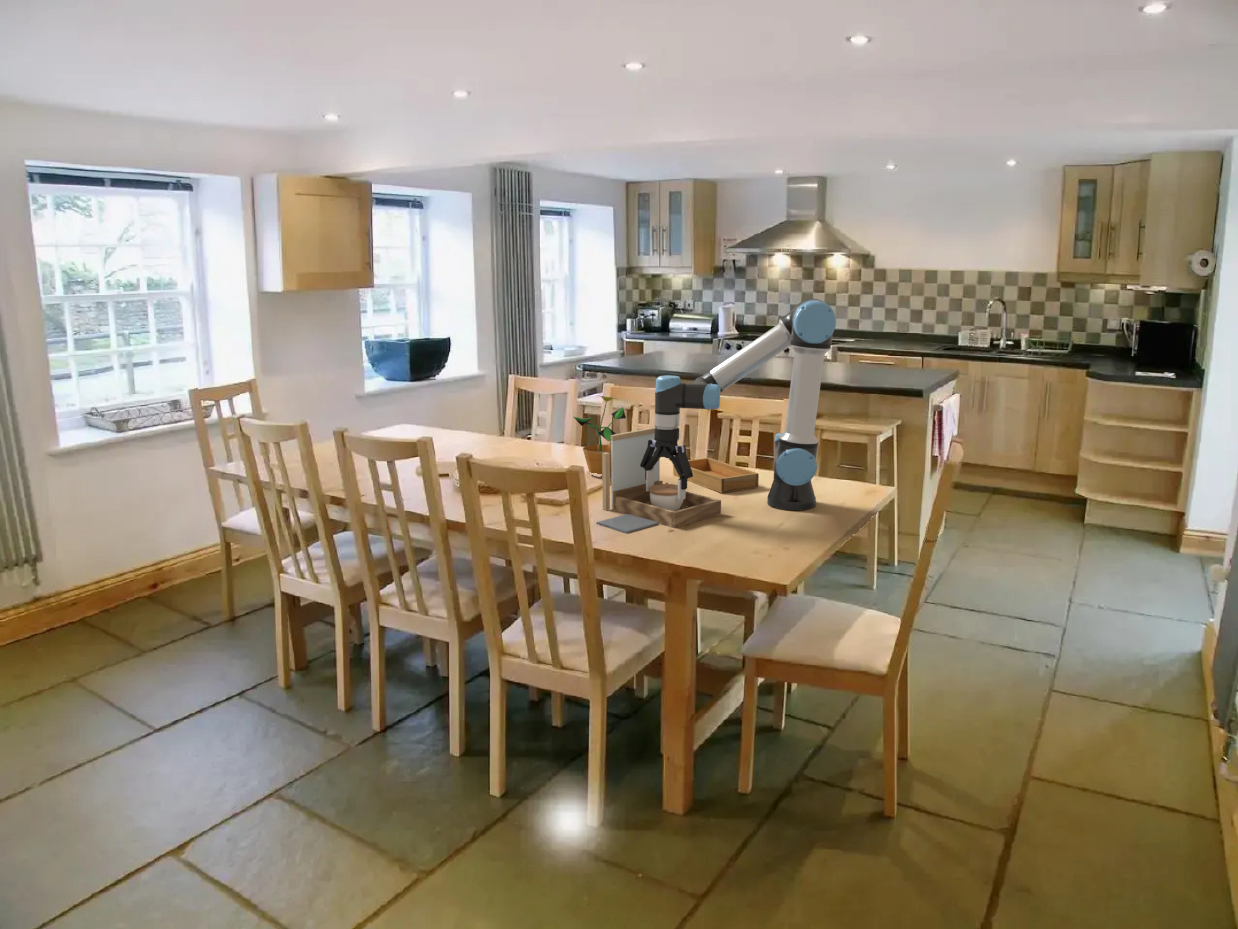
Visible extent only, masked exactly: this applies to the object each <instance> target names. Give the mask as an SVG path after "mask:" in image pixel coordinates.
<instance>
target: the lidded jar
mask: <svg viewBox="0 0 1238 929" xmlns="http://www.w3.org/2000/svg"><path fill="white" fill-rule="evenodd" d="M649 492H650V502H649V503H650V505H653V506H657V507H660V508H664V509H668V510H671V511H678V510H681V508H682V504H683V500H677V499H678V484H674V483H669V482H664V483H662V484H659V485H654V486H651V487H650V488H649Z"/></svg>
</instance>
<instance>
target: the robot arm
mask: <svg viewBox="0 0 1238 929" xmlns="http://www.w3.org/2000/svg"><path fill="white" fill-rule="evenodd" d="M835 314H836V313H835V312H834V309H833V308H832V307H831V306H830V305H829V304H828V303H827V302H825V301H823V300H821V299H817V298H807V299H804V300H801V301H800V302H799V303H798V304H797V305H795V307H794V308H792V309H791V310H790V311H789V312H787V313H786V314H785V315H783V317H780V319H779V320H778V323H777V325H775V326H774V327H772V328H771V329H769V330H768V331H766V332H765V333H763V334H761V335H760V336H758V337H757V338H756V339H755V340H753V341H751V342H750V343H749V344H746V345H745V346H743V348H741V349H740V350H738V351H737V352H736V353H733V355H731V356H729V357H728V358H726V359H725V360H723V361H722V362H720V363H719V364H718V365H716V366H714V367H713V368H712V369H711V370H709V371H708V372H706V373H704V374H702V376H698V377H697V378H695V379H694V381H692V383H684V382H682V380H681V377H680V376H677V375H666V374H665V375H659V376H658V377H657V378H656V379H655V389H654V426H655V427H656V428H655V434H654V438H655V439H652V440H648V447H647V449H646V452H645V454H644V457H643V459H642V461H641V464H640V466H641V467H643V468H644V469H645V480H646V491H647V492H648V491H649V488H650V487H651V486H654V470H651V469H654V468H653V467H654V465H655V464H656V463H657V461H658V460H659V459H661V458H665V459H669V461H670V462H671V463H672V466H673V465H674V467H675V469H676V471H677V473H678V475H679V477H680V478H679V477H678V479H677V485H678V499H677V500H683V499H685V498H686V492H687V491H686V490H688V481H687V479H688V478H691V477H693V473H692V470H691V467H690V464H689V461H688V460H689V458H688V455H687V448H686V445H679V444H678V442H679V440H680V428H679V427H680V415H681V412H680V411H681V409H693V410H697V409H699V410H707V411H708V410H718V409H719V408H720V405H721V393H723V392H724V391H725V390H727V389H728V388H730V387H731V386H732V385H734V384H736V383H737V382H739V381H740V380H741V379H743V378H744V377H747V376H748V375H749V374H751V373H752V372H754V371H755V370H757V369H758V368H760V367H762V366H763V365H764V364H766V363H768V362H769V361H770V360H771V359H773V358H775V357H776V356H778V355H779V354H780V353H782V352H784V351H785V350H787V349H788V348H791V349H792V350H793V351H794V353H793V354H794V355H793V361H792V362H793V363H792V371H791V378H790V379H791V380H790V386H789V395H788V404H787V411H786V412H787V413H786V420H785V427H784V432H778V433H776V434H775V436H774V441H773V443H774V451H773V452H774V453H773V455H774V457H773V459H774V460H773V480H772V483H771V486H770V489H769V491H768V494H767V502H766V504H767V506H769V507H771V508H775V509H779V510H785V511H805V510H810V509H813V508H815V507H816V503H817V498H816V495H815V492H814V488H813V487H814V486H813V483H812V479H813V478H814V477H815V474H816V472H817V468H818V463H817V457H818V456H817V454H818V446H819V439H818V438H817V437H816V435H815V430H816V421H817V414H818V407H819V399H820V391H821V384H822V376H823V369H824V361H825V355H826V354H827V353H828V352H829V351H830V350H832V348H831V346H832V340H833V334H834V332H835V329H836V327H837V326H836V325H837V318H836V315H835ZM655 447H656V448H657V449H656V451H655V452H654V450H655ZM653 454H654V455H653ZM652 455H653V456H652Z"/></svg>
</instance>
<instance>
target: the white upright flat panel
mask: <svg viewBox="0 0 1238 929" xmlns="http://www.w3.org/2000/svg"><path fill="white" fill-rule="evenodd" d="M655 428H656V426H655V427H654V426H653V427H651V428H650V427H649V428H644V429H643V428H642V429H639V430H631V431H627V432H621V433H616V434H615V435H610V438H611V440H610V441H611V442H610V445H611V475H610V456H609V453H602V477H601V478H602V481H601V482H602V510H604V511H609V510H612V511H614V510H613V491H618V490H622V489H626V488H630V487H634V486H639V485H643V484H646V480H645V469H644V468H643V467H641V466H640V464H641V461H642V459H643V457H644V454H645V452H646V449H647V447H648V440H652V439H655V438H654V434H655ZM656 449H657V448H656V447H655V450H654V452H655V451H656ZM653 455H654V454H653ZM653 455H652V456H653ZM660 459H661V458H660ZM660 459H659V460H658V461H657V463H656V464H655V465H654V467H653V468H654V469H651V470H654V482H656V481H661V480H660V473H661V472H660V471H661V465H660V463H661V462H660ZM610 479H611V480H610ZM610 483H611V484H610Z"/></svg>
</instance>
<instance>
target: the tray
mask: <svg viewBox="0 0 1238 929" xmlns="http://www.w3.org/2000/svg"><path fill="white" fill-rule="evenodd" d="M688 461H689V464H690V467H691V470H692V473H693V477H691V478H688V479H687V482H690V483H693V484H695V485H699V486H702V487H705V488H707V489H709V490H713V491H715V492H717V493H720V494H725V493H730V492H736V491H737V492H738V491H742V490H743V491H745V490H749V489H750V490H751V489H755V488H759V478H760V477H759V472H755V471H752V470H749V469H746V468H743V467H739V466H736V465H732V464H729V463H728V462H727V463H726V462H723V461H721V460H717V459H714V458H711V457H702V458H696V459H688ZM672 467H673V471H672V474H673V477H677V478H678V479H679V478H680V477H679V475H678V473H677V471H676V469H675V467H674V465H673V464H672Z"/></svg>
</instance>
